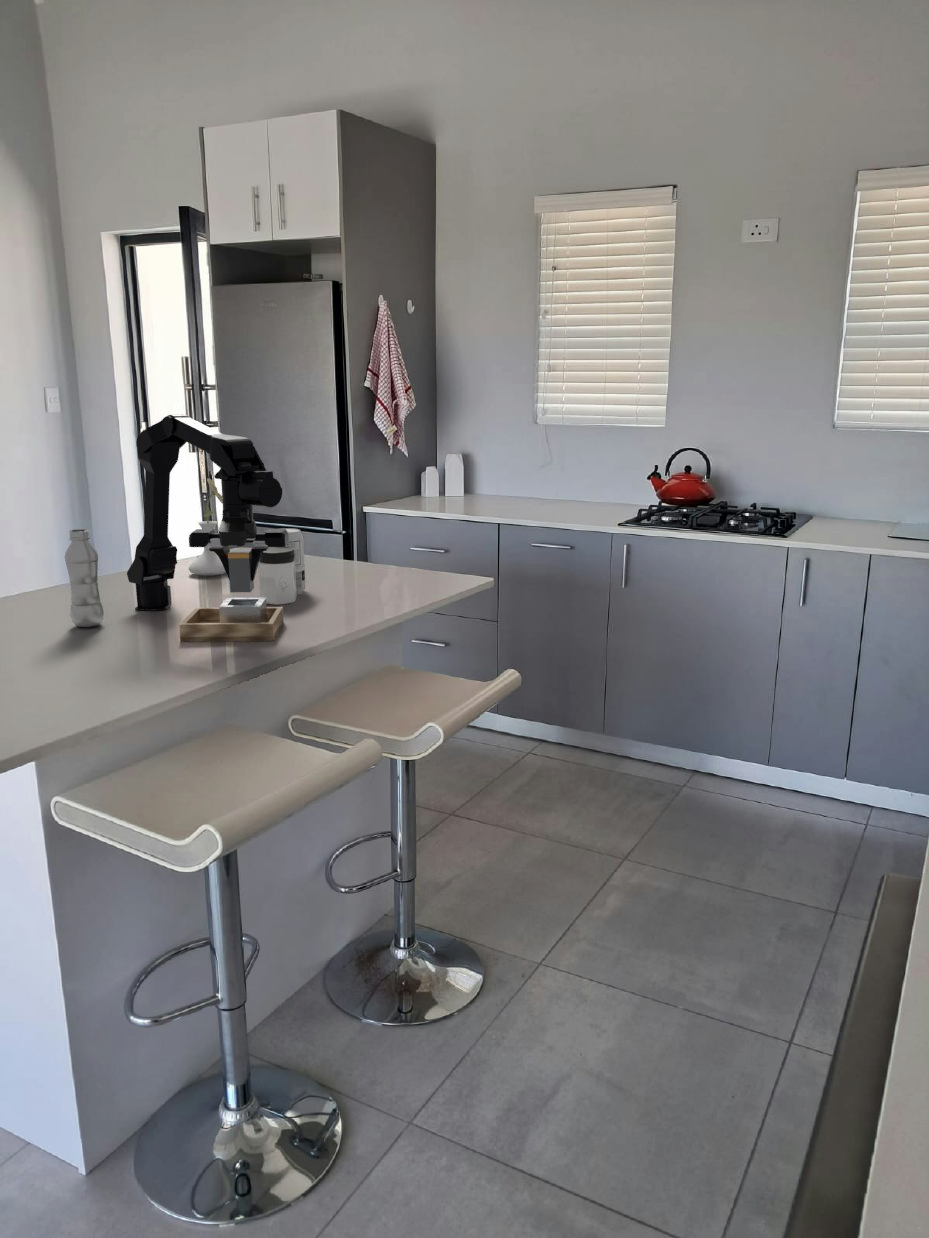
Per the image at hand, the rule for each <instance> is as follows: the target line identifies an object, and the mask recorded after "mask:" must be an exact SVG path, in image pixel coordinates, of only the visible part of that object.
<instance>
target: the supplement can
mask: <svg viewBox="0 0 929 1238" xmlns="http://www.w3.org/2000/svg"><path fill="white" fill-rule="evenodd" d="M282 529H286V531H287V532H288V538H289V542H288V544H287V545H286V546H285V547H289V548H293V549H294V554H295V568H296V592H297V595H299V594H302V593H303V592H304V591H306V571H305V570H306V569H305V567H306V566H305V546H304V544H305V542H304V541H305V540H304V536H303V533H302V532H301V529H300V528H299V529H298V528H290V527H288V528H284V527H283V528H282Z"/></svg>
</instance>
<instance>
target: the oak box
mask: <svg viewBox="0 0 929 1238" xmlns="http://www.w3.org/2000/svg"><path fill="white" fill-rule="evenodd" d="M219 607H220V606H219ZM219 607H217V606H216V607H194V609H193V610H192V611H191V612H190V613H189V614H188V615H187V616H186V617H185V618H184V619H183V620H182V621H181V622H180V623H179V626H178V627H179V639H180V643H193V642H194V643H198V642H200V643H207V642H209V643H210V642H211V643H214V642H217V643H218V642H222V643H223V642H228V643H230V642H274V641H275V639H276V637H277V636H278V634H279V632H280V631H281V628H282V627H283V625H284V607H283V606H267V623H220V613H219Z"/></svg>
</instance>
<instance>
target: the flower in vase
mask: <svg viewBox="0 0 929 1238" xmlns="http://www.w3.org/2000/svg"><path fill="white" fill-rule="evenodd" d="M206 480H207V483H208V486H209V487H210V489H211V494H210V495H209V497H208V500H207V502H206V506H205V510H206V511H205V513H204V514H203V515H202V516H203V517H205V518H206V520H204V521H199V522H197V523H198V525H199V526H200V528H201V529H214V531H215V529H216V527H217V525H218V523H219V522H218V521H215V520H209V517H210V516H212V515H213V511H212V510H210V508H209V504H210V500H211V498H212V496H215V497H216V498H217V499H218V501H219V502H220V503H221V504H222V505H223V501H222V494H221V493H220V492H218V487H217V486H216V485H214V483H213V480H212V479H211V478H209V477H208V478H207V479H206ZM209 548H210V543H208V544H207V546H206V547H204V550H203V552H202V553H201V554H200V555H199V556H198V557H197V558H195V559H194V560H193V561H192V562H191V563H190V564H189V567H188V571H189V572H190V573H191V574H194V575H197V576H206V577H207V576H208V577H209V576H219V575H224V574H226V571H225V569H224V567H223V564H222V562H221V560H220V559H219V557H218V555H217V554H216V553H215V552H214V551H209Z"/></svg>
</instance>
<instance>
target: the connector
mask: <svg viewBox="0 0 929 1238" xmlns="http://www.w3.org/2000/svg"><path fill="white" fill-rule="evenodd" d="M251 549H252V548H247V549H246V548H238V549H237V548H235V549H234V548H233V549H230V552H228V560H229V577H230V581H229V591H230V593H252V591H253V590H254V589H255V579H254V580H253V581H251V560H252V553H251Z"/></svg>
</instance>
